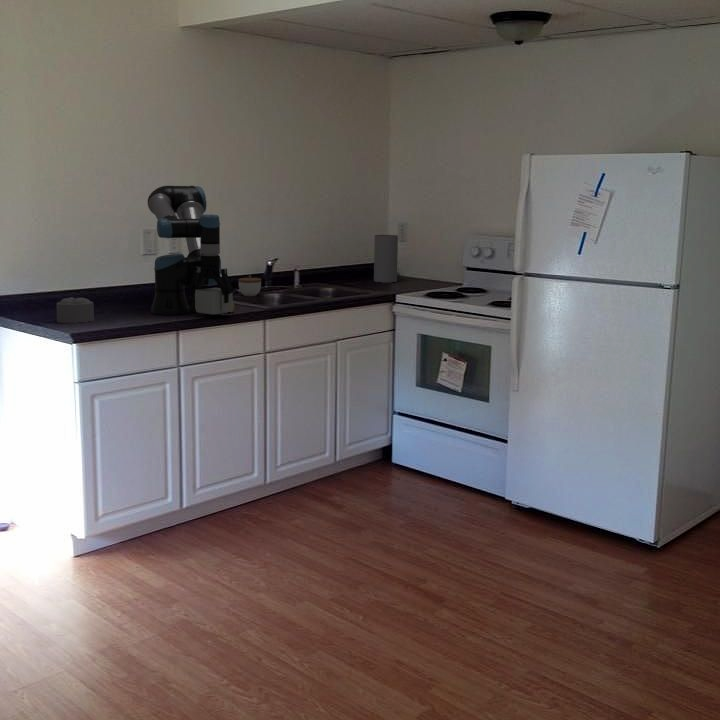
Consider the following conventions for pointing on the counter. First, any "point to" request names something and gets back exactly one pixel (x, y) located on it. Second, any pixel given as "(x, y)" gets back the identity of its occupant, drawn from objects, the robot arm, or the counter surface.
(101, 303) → the counter surface
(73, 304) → the lumpy-topped squat cylinder
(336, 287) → the counter surface
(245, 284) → the lidded jar
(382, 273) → the cylinder vase
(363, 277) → the counter surface
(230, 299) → the wide gray carton
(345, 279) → the counter surface
